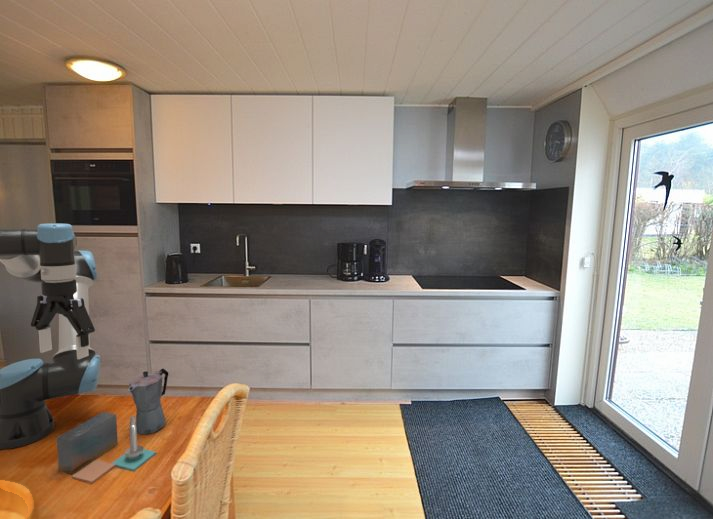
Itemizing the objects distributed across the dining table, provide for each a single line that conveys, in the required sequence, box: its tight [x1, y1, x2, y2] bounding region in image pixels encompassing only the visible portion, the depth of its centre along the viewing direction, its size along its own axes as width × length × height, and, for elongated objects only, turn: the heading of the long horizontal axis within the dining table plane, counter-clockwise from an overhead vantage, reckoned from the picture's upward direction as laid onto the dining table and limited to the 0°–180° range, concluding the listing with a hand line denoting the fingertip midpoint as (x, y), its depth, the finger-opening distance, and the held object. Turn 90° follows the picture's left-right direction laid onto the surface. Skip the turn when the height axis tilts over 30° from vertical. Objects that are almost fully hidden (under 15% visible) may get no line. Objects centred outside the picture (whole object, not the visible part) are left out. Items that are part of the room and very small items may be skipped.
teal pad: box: [111, 448, 157, 472], centre depth 108 cm, size 8×8×1 cm
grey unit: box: [56, 411, 119, 476], centre depth 108 cm, size 5×14×10 cm, turn 165°
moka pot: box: [127, 368, 169, 435], centre depth 123 cm, size 10×15×20 cm, turn 166°
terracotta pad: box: [71, 459, 116, 484], centre depth 102 cm, size 7×7×1 cm
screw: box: [123, 415, 144, 460], centre depth 107 cm, size 13×5×5 cm
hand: (64, 354), depth 104 cm, fingers open, 13 cm apart
